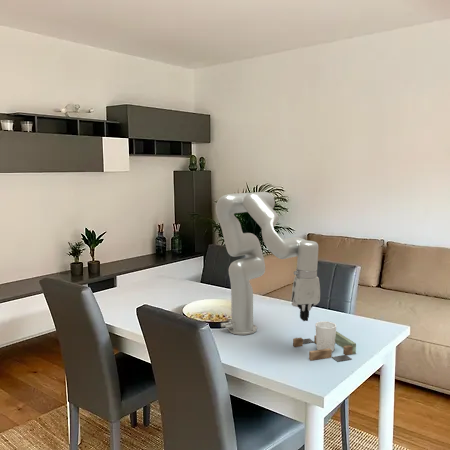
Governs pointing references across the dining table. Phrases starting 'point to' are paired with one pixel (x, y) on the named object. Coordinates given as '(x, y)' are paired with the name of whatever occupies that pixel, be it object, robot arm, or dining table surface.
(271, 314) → the dining table surface
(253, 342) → the dining table surface
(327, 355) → the brown and green pieces
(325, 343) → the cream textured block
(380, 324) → the dining table surface
